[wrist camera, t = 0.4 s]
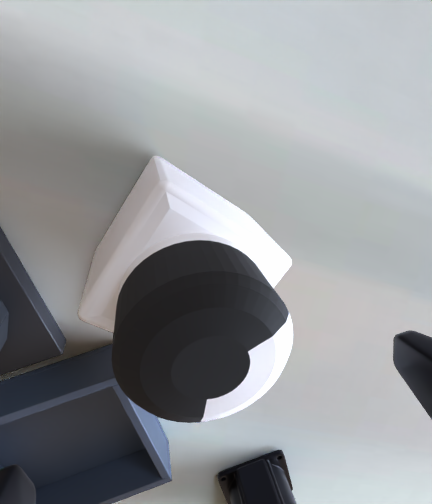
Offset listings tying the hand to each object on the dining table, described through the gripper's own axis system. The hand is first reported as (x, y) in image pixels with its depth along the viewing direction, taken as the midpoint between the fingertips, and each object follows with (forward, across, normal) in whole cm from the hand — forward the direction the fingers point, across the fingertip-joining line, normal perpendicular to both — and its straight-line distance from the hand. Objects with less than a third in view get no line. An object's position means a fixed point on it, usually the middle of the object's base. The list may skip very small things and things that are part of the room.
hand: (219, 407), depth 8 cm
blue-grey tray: (+14, +12, +13) cm, 23 cm away
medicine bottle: (+15, 0, +1) cm, 15 cm away
